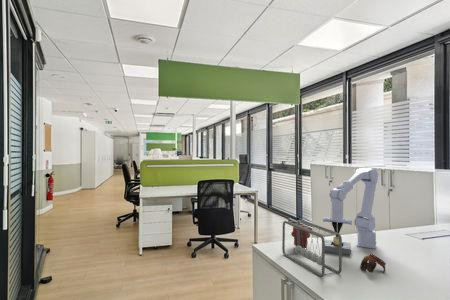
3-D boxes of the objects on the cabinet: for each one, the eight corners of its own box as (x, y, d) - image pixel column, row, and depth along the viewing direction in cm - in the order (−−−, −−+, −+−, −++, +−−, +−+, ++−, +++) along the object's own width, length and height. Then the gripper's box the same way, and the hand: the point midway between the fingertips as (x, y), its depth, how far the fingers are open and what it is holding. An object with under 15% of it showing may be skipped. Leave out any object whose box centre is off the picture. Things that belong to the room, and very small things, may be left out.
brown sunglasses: (358, 265, 132) (368, 251, 131) (379, 279, 126) (388, 264, 126) (356, 268, 122) (366, 251, 121) (378, 283, 116) (389, 266, 116)
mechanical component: (290, 244, 159) (308, 245, 158) (292, 250, 149) (311, 251, 148) (290, 222, 159) (308, 223, 158) (292, 227, 149) (311, 228, 148)
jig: (350, 249, 152) (350, 243, 152) (350, 256, 142) (350, 249, 142) (325, 245, 158) (325, 239, 158) (323, 252, 148) (323, 245, 148)
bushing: (341, 249, 151) (341, 236, 151) (341, 252, 147) (341, 239, 147) (333, 248, 153) (333, 236, 153) (333, 251, 149) (333, 238, 149)
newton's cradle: (281, 254, 144) (282, 220, 144) (298, 251, 148) (298, 218, 148) (322, 279, 116) (323, 236, 116) (342, 275, 120) (342, 233, 120)
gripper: (322, 211, 150) (322, 236, 150) (352, 213, 143) (351, 240, 143) (323, 208, 156) (323, 233, 156) (352, 211, 150) (352, 236, 150)
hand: (337, 236), depth 150 cm, fingers closed
